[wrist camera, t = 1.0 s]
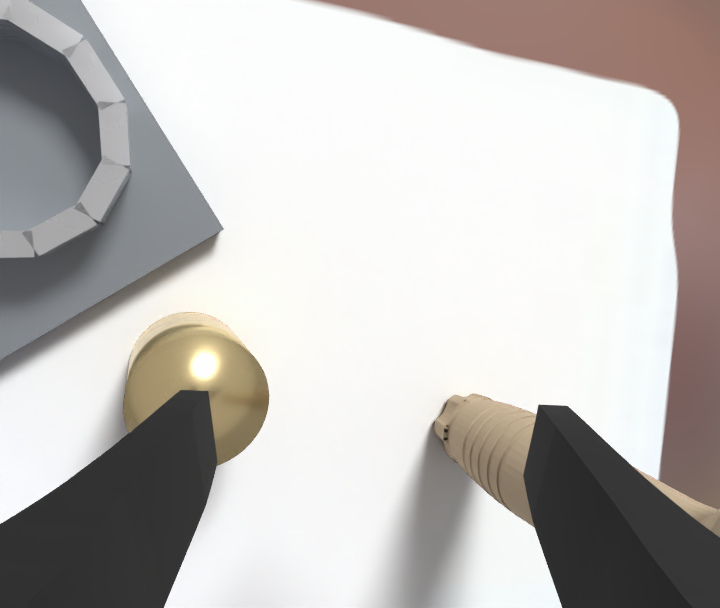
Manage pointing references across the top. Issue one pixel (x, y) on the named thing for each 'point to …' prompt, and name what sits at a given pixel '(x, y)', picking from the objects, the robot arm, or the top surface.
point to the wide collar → (69, 49)
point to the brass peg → (198, 377)
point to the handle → (516, 454)
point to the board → (81, 187)
